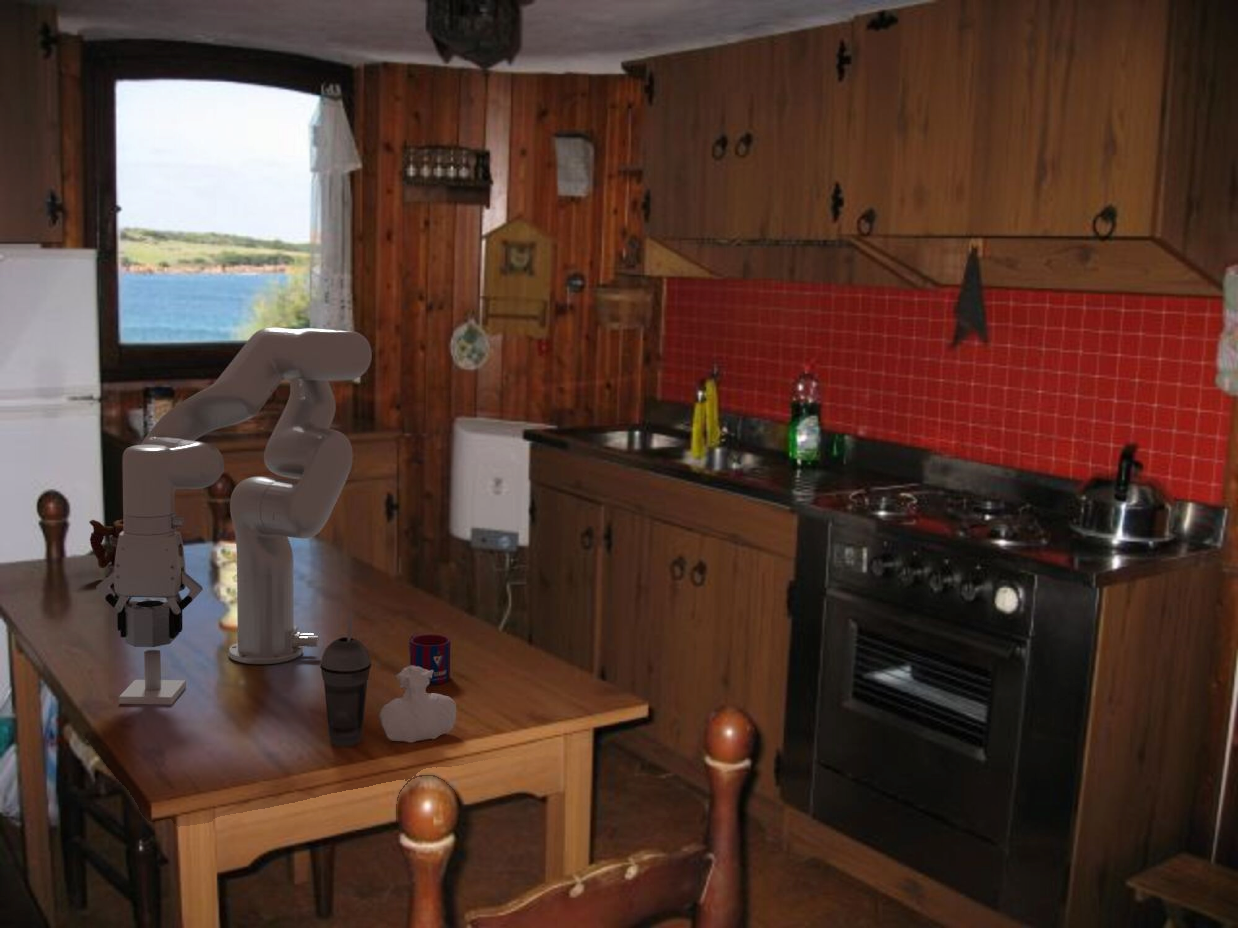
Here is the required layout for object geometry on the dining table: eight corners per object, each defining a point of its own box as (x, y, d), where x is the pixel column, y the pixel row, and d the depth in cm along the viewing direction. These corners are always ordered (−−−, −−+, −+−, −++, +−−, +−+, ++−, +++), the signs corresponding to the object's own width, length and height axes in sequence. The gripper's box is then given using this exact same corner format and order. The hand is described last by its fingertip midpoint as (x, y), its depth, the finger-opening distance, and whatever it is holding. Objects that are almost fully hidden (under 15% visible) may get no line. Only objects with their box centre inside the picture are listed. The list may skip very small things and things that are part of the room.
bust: (453, 742, 196) (437, 672, 200) (469, 726, 190) (452, 654, 194) (377, 754, 190) (362, 682, 194) (391, 738, 184) (376, 664, 189)
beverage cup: (349, 727, 194) (349, 599, 191) (381, 740, 189) (382, 609, 186) (309, 740, 188) (309, 608, 185) (341, 754, 184) (341, 618, 181)
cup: (418, 687, 213) (419, 647, 212) (397, 669, 222) (397, 631, 220) (456, 681, 216) (456, 642, 215) (433, 664, 225) (433, 627, 224)
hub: (178, 635, 206) (178, 598, 206) (165, 647, 200) (165, 609, 199) (134, 634, 206) (134, 597, 205) (121, 646, 199) (120, 608, 198)
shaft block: (185, 687, 209) (185, 644, 208) (171, 704, 201) (170, 660, 200) (135, 686, 208) (134, 643, 207) (119, 703, 200) (118, 659, 199)
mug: (175, 577, 276) (162, 510, 272) (106, 595, 268) (91, 527, 265) (162, 565, 285) (148, 500, 281) (95, 582, 278) (80, 516, 274)
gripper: (212, 521, 204) (212, 630, 207) (100, 518, 203) (101, 627, 206) (199, 531, 197) (200, 644, 200) (83, 527, 196) (85, 641, 198)
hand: (150, 634), depth 203 cm, fingers closed on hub, 6 cm apart
